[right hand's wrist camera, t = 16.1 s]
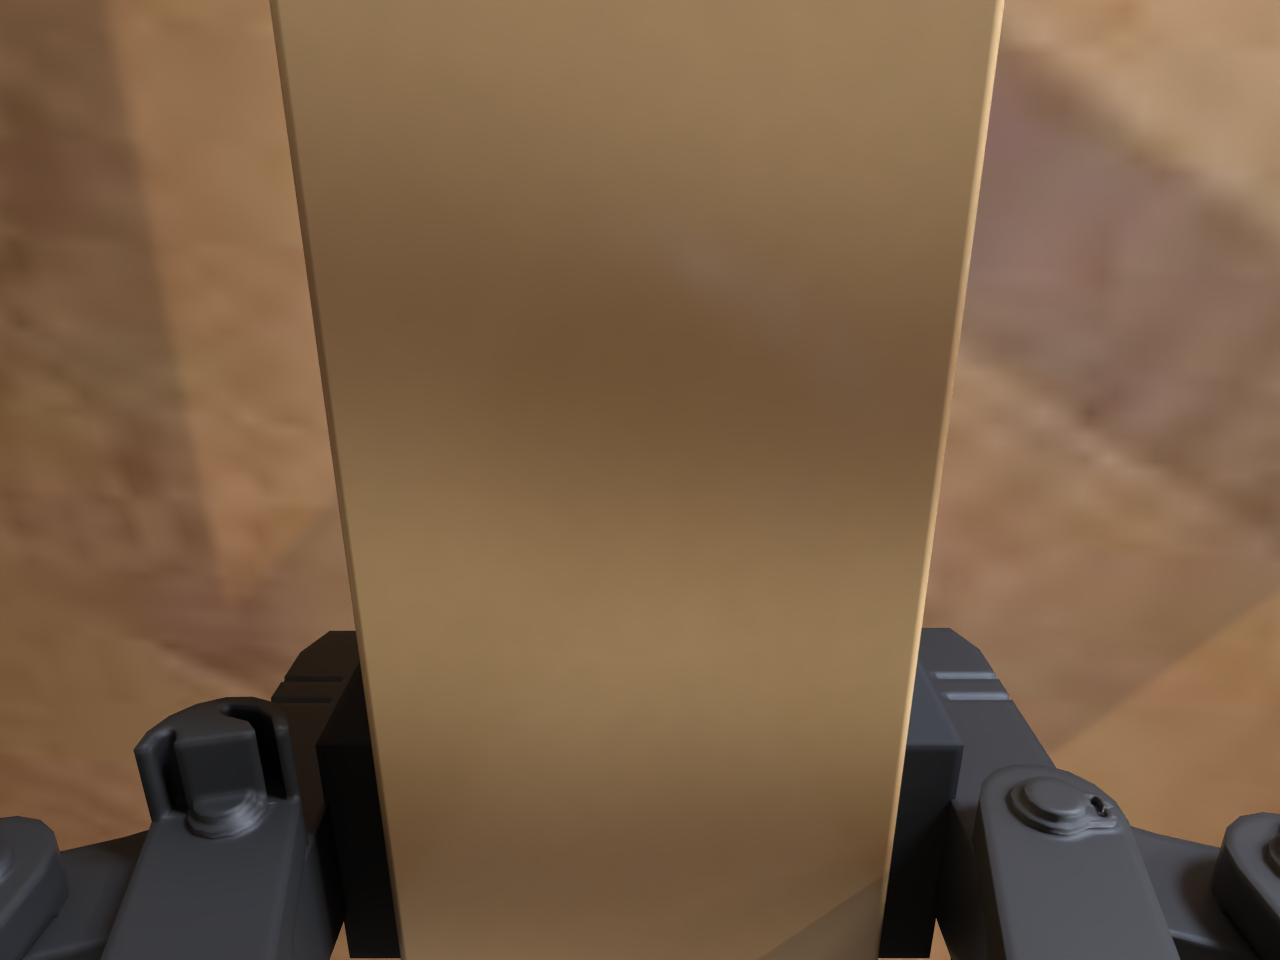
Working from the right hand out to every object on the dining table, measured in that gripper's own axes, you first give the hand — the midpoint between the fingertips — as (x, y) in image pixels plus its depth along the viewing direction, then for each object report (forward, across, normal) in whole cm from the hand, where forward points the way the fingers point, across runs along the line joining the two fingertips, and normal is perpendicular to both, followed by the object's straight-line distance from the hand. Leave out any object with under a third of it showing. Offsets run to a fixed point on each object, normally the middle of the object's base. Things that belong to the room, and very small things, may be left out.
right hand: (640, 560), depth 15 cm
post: (+1, 0, -22) cm, 22 cm away
